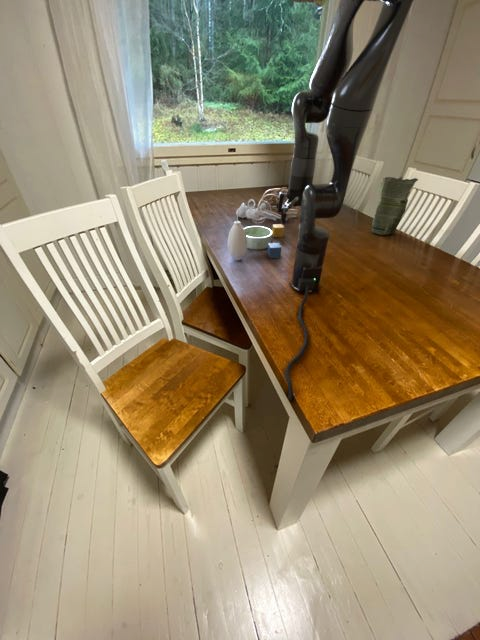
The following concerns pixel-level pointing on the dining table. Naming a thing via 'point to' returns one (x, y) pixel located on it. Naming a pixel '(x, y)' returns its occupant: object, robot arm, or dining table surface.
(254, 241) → the bowl
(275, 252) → the blue cube
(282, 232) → the mustard cube
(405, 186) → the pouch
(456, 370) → the dining table surface
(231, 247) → the sauce bottle
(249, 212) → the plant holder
